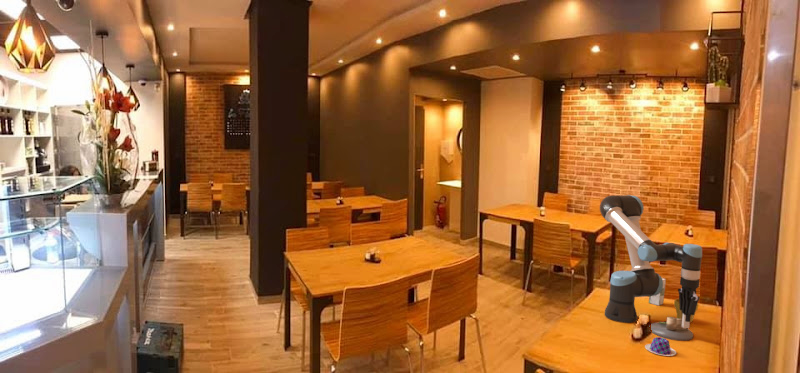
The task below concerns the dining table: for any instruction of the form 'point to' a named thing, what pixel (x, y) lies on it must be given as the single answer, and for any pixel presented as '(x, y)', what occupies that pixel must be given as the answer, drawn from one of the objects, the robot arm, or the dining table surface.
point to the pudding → (660, 347)
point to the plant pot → (679, 312)
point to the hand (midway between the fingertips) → (685, 327)
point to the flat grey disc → (671, 332)
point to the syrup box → (658, 296)
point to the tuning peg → (674, 323)
